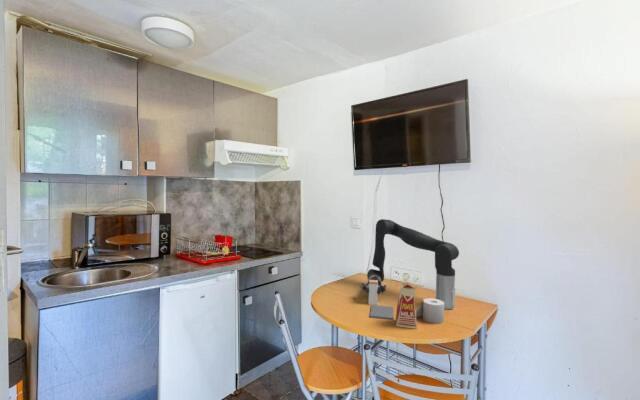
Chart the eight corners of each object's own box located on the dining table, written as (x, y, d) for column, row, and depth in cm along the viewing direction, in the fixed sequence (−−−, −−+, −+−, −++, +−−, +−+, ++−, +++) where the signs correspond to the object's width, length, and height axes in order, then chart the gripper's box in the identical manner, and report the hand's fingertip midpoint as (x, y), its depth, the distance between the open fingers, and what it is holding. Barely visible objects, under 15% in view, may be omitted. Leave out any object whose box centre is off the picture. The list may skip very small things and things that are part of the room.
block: (377, 302, 175) (377, 280, 174) (377, 305, 170) (377, 282, 170) (369, 301, 176) (369, 279, 175) (368, 304, 171) (369, 281, 171)
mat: (371, 306, 168) (371, 304, 168) (393, 308, 166) (393, 306, 166) (369, 317, 153) (370, 315, 153) (393, 319, 151) (393, 318, 151)
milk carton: (417, 328, 142) (419, 283, 141) (396, 326, 144) (397, 282, 143) (415, 320, 151) (417, 278, 150) (395, 318, 152) (396, 276, 152)
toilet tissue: (411, 316, 155) (412, 299, 155) (437, 315, 158) (437, 298, 157) (420, 324, 147) (421, 305, 146) (447, 323, 149) (448, 304, 149)
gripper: (362, 275, 188) (359, 283, 171) (387, 277, 185) (387, 285, 168) (362, 288, 188) (359, 297, 172) (386, 290, 185) (386, 300, 169)
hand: (373, 291), depth 170 cm, fingers closed on block, 4 cm apart
